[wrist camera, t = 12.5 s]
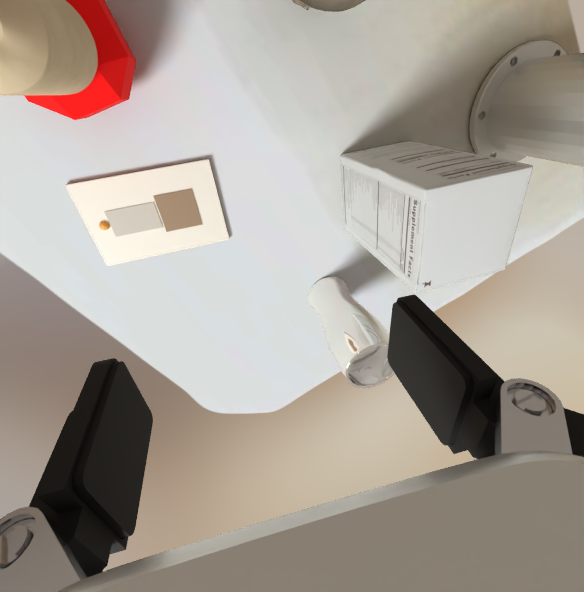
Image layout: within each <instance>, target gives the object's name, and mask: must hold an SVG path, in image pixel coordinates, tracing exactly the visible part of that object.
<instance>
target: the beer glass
mask: <svg viewBox="0 0 584 592" xmlns="http://www.w3.org/2000/svg"><path fill="white" fill-rule="evenodd" d="M308 303H309V305H310V307H311V308H312V309H313V310H314V311H315V312H316V313H317V315H318V316H319V318H320V320H321V324H322V328H323V332H324V336H325V339H326V342H327V345H328V348H329V350H330V352H331V355H332V356H333V358H334V360H335V362H336V364H337V365H338V367H339V368H340V370H341V371H342V373H343V374H344V376H345V377H346V379H347V381H348V383H349V384H351V385H352V386H354V387H357V388H370V387H374V386H377V385H379V384H381V383H383V382H385V381H386V380H388V379H389V378H390V377H391V376H393V375H394V371H393V370H392V368H391V367H390V365H389V363H388V359H387V354H388V345H389V335H390V334H389V333H388V331H387V330H386V329H385V327H384V326H383V325H382V323H381V322H380V321H379V320H378V319H377V318H376V317H375V316H374V315H373V314H372V313H371V312H370V311H369V310H367V309H366V308H365V307H364V306H362V305H361V304H360V303H358V302H357V301H356V300H355V299H354V298H353V297H352V296H351V295H350V292H349V290H348V287H347V285H346V284H345V282H344V281H343V280H341V279H340V278H337V277H325V278H323V279H320V280H319V281H317V282H316V283H315V284H314V285H313V286H312V287H311V289H310V291H309V294H308Z"/></svg>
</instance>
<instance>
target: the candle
mask: <svg viewBox="0 0 584 592" xmlns="http://www.w3.org/2000/svg"><path fill="white" fill-rule="evenodd" d="M97 65H98V57H97V49H96V45H95V42H94V39H93V36H92V34H91V32H90V30H89V28H88V26H87V25H86V23H85V22H84V20H83V19H82V17H81V16H80V15H79V13H78V12H77V11H76V10H75V9H74V8H73V7H72V6H71V5H70V4H69V3H68V2H67V1H66V0H0V95H70V94H75V93H78V92H80V91H82V90H83V89H85V88H86V87H87V86H88V85H89V84H90V83H91V82H92V80H93V78H94V76H95V74H96V71H97Z"/></svg>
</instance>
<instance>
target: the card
mask: <svg viewBox="0 0 584 592" xmlns="http://www.w3.org/2000/svg"><path fill="white" fill-rule="evenodd" d="M65 186H66V188H67V190H68V192H69V194H70V196H71V198H72V200H73V202H74V204H75V206H76V207H77V209H78V211H79V213H80V215H81V217H82V219H83V221H84V223H85V225H86V227H87V229H88V230H89V232H90V234H91V236H92V238H93V240H94V242H95V244H96V246H97V248H98V250H99V252H100V253H101V255H102V257H103V259H104V261H105V263H106V265H107V266H111V265H115V264H120V263H124V262H129V261H134V260H138V259H143V258H147V257H152V256H157V255H161V254H166V253H170V252H175V251H180V250H184V249H189V248H193V247H198V246H203V245H207V244H212V243H216V242H221V241H226V240H229V236H228V232H227V228H226V224H225V220H224V216H223V212H222V209H221V205H220V201H219V197H218V193H217V189H216V185H215V181H214V177H213V174H212V170H211V166H210V162H209V159H204V160H198V161H193V162H187V163H182V164H176V165H171V166H165V167H160V168H154V169H149V170H143V171H138V172H132V173H127V174H121V175H115V176H110V177H104V178H99V179H93V180H88V181H82V182H77V183H71V184H67V185H65Z"/></svg>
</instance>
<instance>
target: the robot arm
mask: <svg viewBox="0 0 584 592" xmlns="http://www.w3.org/2000/svg"><path fill="white" fill-rule="evenodd" d="M469 132H470V140H471V144H472V147H473V149H474V151H475V152H476V154H479V155H484V156H489V157H494V158H499V159H504V160H509V161H514V162H517V161H519V160H521V159H523V158H525V157H526V156H529V157H534V158H540V159H545V160H550V161H556V162H561V163H566V164H572V165H577V166H582V167H584V53H579V54H570V55H567V53H566V52H565V50H564V49H563V47H561V46H560V45H559V44H557V43H556V42H553V41H549V40H538V41H533V42H528V43H525V44H523V45H520V46H518V47H516V48H515V49H513V50H512V51H510V52H509V53H507V54H506V55H505V56H504V57H503V58H502V59H501V60H500V61H499V62H498V63H497V64H496V65H495V66H494V68H493V69H492V70H491V71H490V72H489V74H488V76H487V77H486V79H485V80H484V82H483V83H482V85H481V87H480V89H479V91H478V94H477V96H476V99H475V101H474V104H473V107H472V112H471V117H470V127H469ZM387 359H388V363H389V365H390V367H391V368H392V370H393V371H394V373H395V374H396V375H397V377H398V378H399V380H400V382H401V383H402V385H403V386H404V388H405V389H406V390H407V392H408V393H409V395H410V396H411V398H412V399H413V401H414V402H415V404H416V405H417V407H418V408H419V410H420V411H421V413H422V414H423V416H424V417H425V419H426V420H427V422H428V423H429V425H430V426H431V428H432V429H433V431H434V432H435V434H436V435H437V437H438V438H439V440H440V441H441V443H443V444H444V445H448V446H449V447H450V449H451V451H452V452H453V453H454V454H455V453H459V452H462V451H466V450H468V451H469V452H470V453H471V455H472V456H473V457H474V461H471V462H467V463H463V464H459V465H455V466H452V467H448V468H444V469H441V470H437V471H433V472H430V473H427V474H423V475H420V476H416V477H413V478H409V479H406V480H403V481H399V482H396V483H393V484H389V485H386V486H382V487H379V488H375V489H372V490H368V491H365V492H361V493H358V494H355V495H351V496H348V497H344V498H341V499H338V500H334V501H331V502H328V503H324V504H321V505H317V506H314V507H311V508H307V509H304V510H301V511H297V512H294V513H291V514H287V515H284V516H281V517H277V518H274V519H270V520H267V521H264V522H260V523H257V524H254V525H250V526H247V527H244V528H241V529H238V530H234V531H230V532H227V533H224V534H220V535H217V536H214V537H211V538H207V539H204V540H201V541H198V542H194V543H191V544H187V545H184V546H181V547H177V548H174V549H171V550H168V551H165V552H162V553H159V554H156V555H152V556H149V557H146V558H143V559H140V560H137V561H134V562H131V563H127V564H125V565H121V566H118V567H115V568H112V569H110V570H106V568H105V567H106V566H107V563H108V559H109V555H110V554H112V553H116V552H119V551H123V550H126V546H127V540H128V536H131V535H132V534H133V533H134V530H135V526H136V519H137V514H138V507H139V501H140V495H141V489H142V484H143V477H144V471H145V465H146V459H147V453H148V447H149V441H150V435H151V429H152V422H153V418H152V414H151V411H150V409H149V407H148V406H147V404H146V402H145V400H144V398H143V397H142V395H141V393H140V391H139V389H138V388H137V386H136V384H135V382H134V380H133V378H132V377H131V375H130V373H129V371H128V369H127V367H126V365H125V364H124V362H118V361H117V360H116V359H108V360H104V361H99V362H95V363H94V364H93V365H92V367H91V370H90V372H89V375H88V377H87V379H86V382H85V384H84V386H83V389H82V391H81V393H80V396H79V398H78V401H77V403H76V405H75V408H74V410H73V411H72V412H71V413H70V414H69V416H68V418H67V420H66V422H65V424H64V427H63V429H62V431H61V434H60V436H59V438H58V440H57V443H56V445H55V448H54V450H53V452H52V455H51V457H50V459H49V461H48V464H47V466H46V468H45V471H44V473H43V475H42V478H41V480H40V482H39V484H38V487H37V489H36V492H35V494H34V496H33V498H32V501H31V503H30V505H29V507H25V508H20V509H17V510H15V511H13V512H11V513H9V514H7V515H6V516H4V517H3V518H1V519H0V592H584V414H580V413H577V412H574V411H571V410H568V409H565V408H563V406H562V403H561V401H560V400H559V398H558V397H557V396H556V395H555V394H554V393H553V392H552V391H550V390H549V389H548V388H546V387H544V386H543V385H541V384H539V383H536V382H533V381H531V380H526V379H510V380H507V381H506V382H504V381H503V380H502V379H501V378H500V377H499V376H498V375H497V374H496V373H495V372H494V371H493V370H492V369H491V368H490V367H489V366H488V365H487V364H486V363H485V362H484V361H483V360H482V359H481V358H480V357H479V356H478V355H477V354H476V353H475V352H474V351H473V350H471V349H470V348H469V347H468V346H467V345H466V344H465V343H464V342H463V341H462V340H461V339H460V338H459V337H458V336H457V335H456V334H455V333H454V332H453V331H452V330H451V329H450V328H449V327H448V326H447V325H446V324H445V323H444V322H443V321H442V320H441V319H440V318H439V317H438V316H437V315H436V314H435V313H434V312H433V311H432V310H430V309H429V308H428V307H427V306H426V305H425V304H424V303H423V302H422V301H421V300H420V299H419V298H418V297H417V296H416V295H410V296H405V297H400V298H398V299H397V302H396V303H394V304H393V308H392V317H391V326H390V335H389V345H388V354H387Z"/></svg>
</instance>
